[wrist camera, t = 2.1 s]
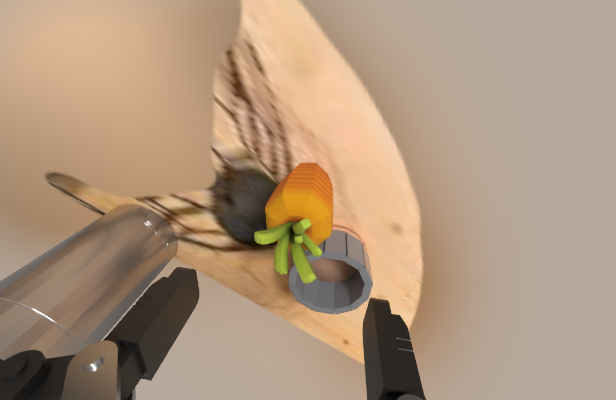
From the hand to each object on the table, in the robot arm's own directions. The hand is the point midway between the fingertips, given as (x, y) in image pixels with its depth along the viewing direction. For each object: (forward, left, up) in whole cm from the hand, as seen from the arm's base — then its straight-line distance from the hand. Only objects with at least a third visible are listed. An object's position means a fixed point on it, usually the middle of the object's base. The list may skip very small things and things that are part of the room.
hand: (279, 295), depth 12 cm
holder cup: (-3, -11, -17) cm, 20 cm away
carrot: (0, 0, -17) cm, 17 cm away
